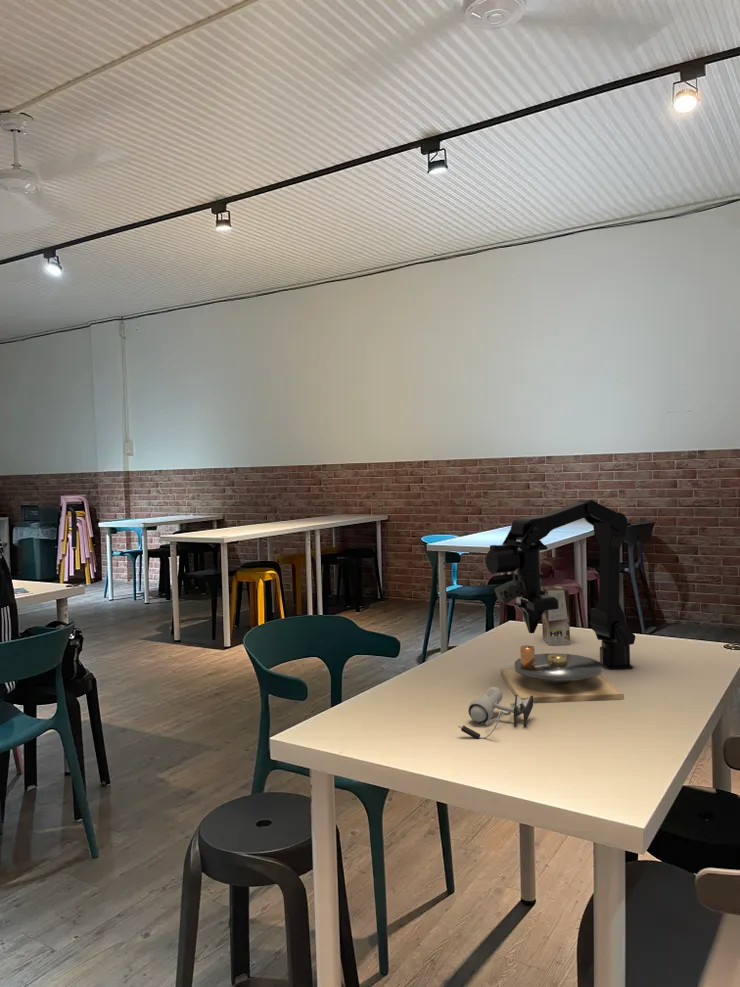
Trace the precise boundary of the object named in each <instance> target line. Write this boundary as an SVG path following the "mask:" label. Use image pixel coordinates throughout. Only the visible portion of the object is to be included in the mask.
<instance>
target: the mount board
mask: <svg viewBox="0 0 740 987" xmlns="http://www.w3.org/2000/svg"><path fill="white" fill-rule="evenodd" d="M499 672H500V676H501V677H502V679H503V680H504V682H505V683H506V685H507V686H508V688H509V689H510V691H512V694H513V695H514V696H515V695H518V697H519V698H520V699H521V700H526V699H528V698H530V696H531V695H532V696H533V704H537V703H542V704H543V703H557V702H558V703H562V702H565V703H566V702H567V703H568V702H585V701H587V702H588V701H611V700H614V701H615V700H624V699H625V694H624V693H623V692H622V691H621V690H620V689H619V688H618V687H617V686H616V685H614V684H613V683H612V682H611V681H609V680H608V679H607V678H606V677H605V676H604V675H602V673H601V674H600V675H599V676H597V677H594V678H591V679H587V680H581V681H567V682H560V681H545V680H538V679H533V678H529V677H526V676H523V675H521V674H519V673H517V672H516V671H515V668H512V669H511V668H509V669H508V668H505V669H500V670H499Z"/></svg>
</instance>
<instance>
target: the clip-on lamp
mask: <svg viewBox="0 0 740 987" xmlns="http://www.w3.org/2000/svg"><path fill="white" fill-rule="evenodd" d="M514 696H515V697H514V698H515V699H514V702H510V704H509V705H510V706H507V705H502V704H500V702H501V701H502V699H503V697H504V696H503V692H502V690H501V689H500V688H498V687H497V686H490V687H489V688H487V690H485V692H484V693H483V694H481V696H480V697H478V698H474V699H473V700H472V701H471V702H470V704H469V706H468V711H467V712H468V715H469V717H470V719H471V720H472V721H473V722H475V723H476V724H481V725H483V724H485V725H486V726H488V725H491V724H494V723H495V722H496V723H495V725H494V727H493V729H492V730H491V731H490V732H489V734H488V735H486V736H481V734H480V733H479V732H476V731H475V730H473V729H471V728H469V727H468V726H466V725H462V726H461V725H458V726H457V727H458V728H459V729H460V731H461V732H463V733H465V734H466V735H468V736H470V737H473V738H474V739H475V740H479V739H487V738H488V737H489V736H491V735H492V734H493V732H494V731H495V729H496V728H497V726H498V724H499V720H500V717H501V715H503V716H509V715H511V714H512V713H513V727H515V728H516V727H517V721H518V717H519V716H521V715H522V714H523V715H522V716H523V728H527V726H528V725H527V724H528V720H529V717H530V715H531V712H532V710H533V707H534V703H533V696H532V695H531V696H530V698H528V699H526V700H521V699H520V698H519V697H518V695H514ZM495 709H497V710H500V711H499V712H498V715H497V717H494V718H493V716H494V711H495ZM504 711H505V712H504Z"/></svg>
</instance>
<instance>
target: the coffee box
mask: <svg viewBox="0 0 740 987" xmlns="http://www.w3.org/2000/svg"><path fill="white" fill-rule="evenodd" d="M541 590H544V591H545V595H550V596H553V597H555V598H556V599H557V600H558V603H559V609H554V610H545V611H544V613H543V614H542V616H541V626H542V627H541V628H542V639H543V640H544V641H545V643H547V644H548V646H569V645H571V632H570V630H571V629H570V627H571V625H570V590H569V589H568V588H566V587H565V586H563V585H561V584H559V585H546V586H545V585H544V586H543V585H541ZM540 596H542V595H540Z"/></svg>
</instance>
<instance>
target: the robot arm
mask: <svg viewBox="0 0 740 987" xmlns="http://www.w3.org/2000/svg"><path fill="white" fill-rule="evenodd" d="M582 519H584V521H586V522H587V523H588V524H590V525H591V526H593V535H594V537H595V539H596V542H597V543H598V545H599V580H598V581H599V582H598V583H599V584H598V585H599V586H598V588H599V589H598V602H597V605H596V606H595V608H593V607H591V608H590V612H589V614H590V619H589V624H590V625H591V629H592V631H593V632H594V633H595V635H596V636H595V637H596V638H597V640H599V641H601V646H600V647H599V662H600V663H601V665H602V667H604V668H606V669H607V670H614V669H617V670H618V669H633V667H634V666H633V665H632V664H631V649H630V648H631V647H630V645H634V644H635V640H636V635H635V634H634V633H633V632H632V631H631V629H629V627H627V621H626V614H625V612H624V610H623V608H622V606H621V603H620V586H621V585H620V579H621V578H620V577H621V576H620V574H621V572H620V571H621V547H622V544H623V543H624V542H625V540H626V537H627V534H628V527H629V521H628V520H629V519H628V517H626V515H625V514H623V513H622V512H619V511H614V510H613V509H611V508H609V507H606V506H604V505H601V504H600V503H599V502H597V501H595V500H594V499H580V500H577V501H576V502H573V503H571V504H569V505H566V506H563V507H560V508H557V509H554V510H552V511H549V512H546V513H544V514H540V515H532V516H531V515H529V516H523V517H517V518H515V519H514V520H513V521H512V524H511V525H510V530H509V532H508V533H507V535H506V537H505V538H504V540H503V542H502V544H491V545H489V551H488V552H487V554H486V558H485V565H486V569H487V570H488V572H489V573H490V574H492V575H496V574H504V573H511V572H513V574H512V580H510V581H507V582H505V583H503V584H501V585H499V586H496V587H495V588H494V590H493V591H494V593H495V596H496V598H497V601H498V602H501V603H503V604H508V603H510V602H511V601H512V600H516V602H515V603H514V602H513V605H514V606H515V607H516V608H518V609H519V610H520V612H521V614H522V617H523V620H524V622H525V625H526V627H527V628H526V629H527V631H528V633H529V634H535V632H536V630H537V627H538V625H539V623H540V620H542V614H543V613H544V611H545V610H554V609H559V603H558V600H557V599H556V598H555V597H553V596H550V595H545V591H544V590H541V586H542V579H544V578H545V574H544V573H543V572H541V569H542V568H541V555H540V554H541V553H540V552H541V551H547V550H548V546H546V544H544V543H543V541H542V539H544V538H545V537H547V536H548V535H549V534H550V533H551V532H552V531H553V530H557V529H558V528H562V527H564V526H567V525H568V524H569V525H570V524H571V523H574V522H576V521H579V520H582ZM515 571H516V573H514V572H515ZM541 595H542V596H541Z"/></svg>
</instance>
